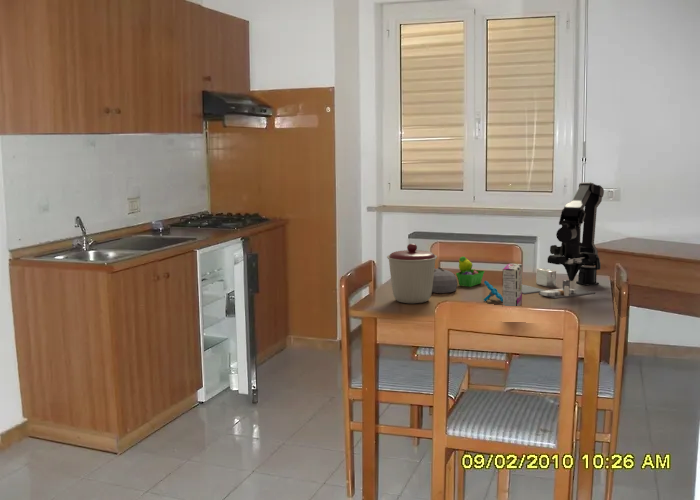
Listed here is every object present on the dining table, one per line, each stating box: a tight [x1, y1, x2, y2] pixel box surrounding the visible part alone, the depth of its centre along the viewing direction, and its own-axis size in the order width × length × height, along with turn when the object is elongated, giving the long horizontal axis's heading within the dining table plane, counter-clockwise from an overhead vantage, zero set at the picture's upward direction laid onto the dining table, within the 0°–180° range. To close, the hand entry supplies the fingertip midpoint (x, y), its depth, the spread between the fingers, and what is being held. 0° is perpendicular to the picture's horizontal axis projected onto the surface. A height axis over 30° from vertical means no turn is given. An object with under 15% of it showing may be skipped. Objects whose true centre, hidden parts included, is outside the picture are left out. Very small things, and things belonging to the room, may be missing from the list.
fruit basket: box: [455, 256, 485, 288], centre depth 294 cm, size 11×9×11 cm
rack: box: [539, 279, 576, 297], centre depth 270 cm, size 13×5×4 cm, turn 115°
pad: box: [522, 284, 546, 295], centre depth 282 cm, size 10×13×1 cm
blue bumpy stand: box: [483, 280, 503, 303], centre depth 262 cm, size 11×6×10 cm
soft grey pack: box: [432, 266, 458, 294], centre depth 285 cm, size 15×8×20 cm
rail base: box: [538, 286, 596, 299], centre depth 272 cm, size 19×9×4 cm, turn 115°
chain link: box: [535, 267, 557, 288], centre depth 291 cm, size 4×10×6 cm, turn 25°
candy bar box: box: [502, 263, 523, 307], centre depth 239 cm, size 11×5×16 cm, turn 158°
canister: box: [386, 243, 438, 304], centre depth 263 cm, size 18×18×21 cm
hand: (571, 280), depth 274 cm, fingers closed
